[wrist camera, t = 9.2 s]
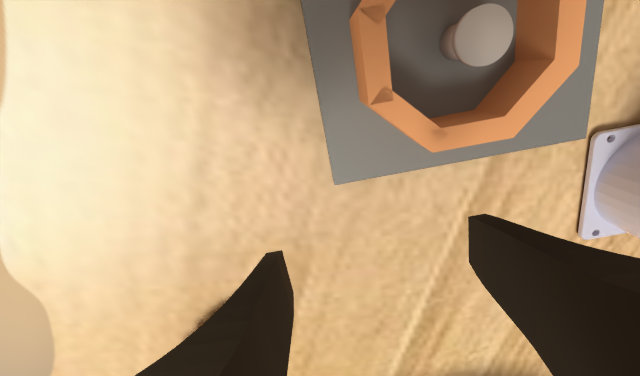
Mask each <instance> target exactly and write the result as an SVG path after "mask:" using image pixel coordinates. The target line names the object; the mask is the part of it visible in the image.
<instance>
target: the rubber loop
mask: <svg viewBox="0 0 640 376" xmlns="http://www.w3.org/2000/svg"><path fill="white" fill-rule="evenodd" d="M395 1H396V0H361V2H360V4H359V5H358V7H357V8H356V10H355V11H354V13H353V15H352V16H351V18H350V19H349V24H350V31H351V39H352V47H353V54H354V62H355V70H356V77H357V85H358V93H359V100H360V101H361V102H362V103H364V104H365V105H366V106H368V107H369V108H370V109H372V110H373V111H374V112H376V113H377V114H378V115H380V116H381V117H382V118H384V119H385V120H386V121H388V122H389V123H390V124H392V125H393V126H395V127H396V128H397V129H399V130H400V131H401V132H403V133H404V134H405V135H407V136H408V137H409V138H411V139H412V140H413V141H415V142H416V143H418V144H420V145H421V146H423V147H424V148H426V149H427V150H429V151H431V152H432V153H434V152H439V151H444V150H450V149H455V148H461V147H466V146H472V145H477V144H482V143H488V142H493V141H499V140H504V139H510V138H514V137H515V136H516V134H517V133H518V132H519V131H520V130H521V129H522V128H523V127H524V126H525V125H526V123H527V122H528V121H529V120H530V119H531V118H532V117H533V116H534V115H535V113H536V112H537V111H538V110H539V109H540V108H541V107H542V106H543V105H544V104H545V102H546V101H547V100H548V99H549V98H550V97H551V96H552V95H553V94H554V93H555V91H556V90H557V89H558V88H559V87H560V86H561V85H562V84H563V83H564V81H565V80H566V79H567V78H568V77H569V76H570V75H571V74H572V73H573V72H574V70H575V69H576V68H577V67H578V66H579V61H580V53H581V44H582V36H583V27H584V18H585V10H586V1H587V0H517V21H516V43H515V62H514V63H513V64H512V65H511V67H510V68H509V69H508V70H507V71H506V73H505V74H504V75H503V76H502V77H501V79H500V80H499V81H498V82H497V83H496V85H495V86H494V87H493V88H492V89H491V91H490V92H489V93H488V94H487V95H486V96H485V98H484V99H483V100H482V101H481V102H480V104H479V105H478V106H477V107H476V108H475V110H471V111H465V112H460V113H455V114H449V115H444V116H439V117H433V118H427V117H426V116H424V115H423V114H422V113H421V112H419V111H418V110H417V109H415V108H414V107H413V106H412V105H410V104H409V103H408V102H406V101H405V100H404V99H403V98H401V97H400V96H399V95H397V94H396V93H395V92H393V91H392V83H391V72H390V61H389V50H388V39H387V29H386V18H385V16H386V14H387V13H388V11H389V10H390V8H391V7H392V5H393V4H394V2H395Z"/></svg>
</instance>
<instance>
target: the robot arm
mask: <svg viewBox="0 0 640 376" xmlns="http://www.w3.org/2000/svg"><path fill="white" fill-rule="evenodd" d="M609 136H610V137H609ZM608 137H609V139H608V140H607V138H608ZM468 222H469V263H470V265H471V266H472V268H473V270H474V271H475V273H476V275H477V276H478V278H479V279H480V281H481V283H482V284H483V285H484V287H485V288H486V289H487V290H488V292H489V293H490V294H491V295H492V297H493V298H494V299H495V300H496V302H497V303H498V304H499V305H500V306H501V308H502V309H503V310H504V311H505V312H506V314H507V315H508V316H509V317H510V318H511V320H512V321H513V322H514V323H515V324H516V326H517V327H518V328H519V329H520V330H521V332H522V333H523V334H524V335H525V337H526V338H527V339H528V340H529V342H530V343H531V344H532V346H533V347H534V348H535V350H536V351H537V353H538V354H539V356H540V357H541V359H542V360H543V362H544V363H545V365H546V366H547V367H548V369H549V370H550V372H551V373H552V375H553V376H640V258H636V257H631V256H626V255H621V254H617V253H613V252H609V251H604V250H600V249H596V248H592V247H588V246H584V245H581V244H577V243H574V242H571V241H567V240H564V239H560V238H557V237H554V236H551V235H548V234H545V233H542V232H539V231H536V230H533V229H530V228H527V227H524V226H521V225H518V224H516V223H513V222H510V221H507V220H504V219H501V218H498V217H495V216H491V215H487V214H481V215H476V216H470V217H468ZM593 231H594V232H593ZM623 233H629V234H631V235H633V236H635V237H637V238H639V239H640V124H637V125H632V126H627V127H621V128H616V129H611V130H605V131H600V132H597V133H595V134H594V135H593V136H592V138H591V142H590V149H589V156H588V163H587V171H586V178H585V185H584V193H583V200H582V207H581V214H580V222H579V229H578V236H579V237H581V238H582V239H584V240H589V239H594V238H600V237H606V236H611V235H617V234H623ZM293 318H294V297H293V289H292V286H291V282H290V278H289V275H288V271H287V267H286V264H285V260H284V256H283V252H282V250H281V251H276V252H270V253H266V254H265V256H264V257H263V258H262V259H261V261H260V262H259V263H258V265H257V266H256V267H255V268H254V270H253V271H252V272H251V274H250V275H249V276H248V277H247V279H246V280H245V281H244V282H243V283H242V285H241V286H240V287H239V288H238V289H237V290H236V291H235V293H234V294H233V295H232V296H231V297H230V298H229V299H228V300H227V302H226V303H225V304H224V305H223V306H222V307H221V308H220V309H219V310H218V311H217V312H216V313H215V314H214V315H213V316H212V317H211V318H210V319H208V320H207V321H206V322H205V323H204V324H203V325H202V326H201V327H200V328H199V329H197V330H196V331H195V332H194V333H192V334H191V335H190V336H189V337H188V338H186V339H185V340H184V341H183V342H181V343H180V344H179V345H178V346H176V347H175V348H174V349H173V350H171V351H170V352H168V353H167V354H166V355H164V356H163V357H162V358H160V359H159V360H157V361H156V362H154V363H153V364H152V365H150V366H149V367H147V368H146V369H144V370H143V371H141V372H140V373H138V374H137V375H135V376H287V369H288V361H289V353H290V344H291V336H292V327H293Z"/></svg>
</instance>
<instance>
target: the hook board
mask: <svg viewBox="0 0 640 376" xmlns="http://www.w3.org/2000/svg"><path fill="white" fill-rule="evenodd" d="M360 2H361V0H301V5H302V10H303V16H304V21H305V27H306V32H307V38H308V43H309V49H310V54H311V60H312V65H313V71H314V76H315V82H316V87H317V92H318V98H319V103H320V109H321V114H322V120H323V125H324V131H325V136H326V142H327V147H328V153H329V158H330V164H331V169H332V175H333V180H334V185H339V184H344V183H349V182H355V181H360V180H365V179H371V178H376V177H381V176H387V175H392V174H398V173H403V172H408V171H414V170H419V169H424V168H430V167H435V166H440V165H446V164H451V163H456V162H462V161H467V160H472V159H478V158H483V157H488V156H494V155H499V154H505V153H510V152H515V151H521V150H526V149H531V148H537V147H542V146H547V145H553V144H558V143H563V142H569V141H574V140H579V139H585V138H586V134H587V126H588V119H589V111H590V104H591V96H592V88H593V81H594V73H595V65H596V58H597V50H598V43H599V35H600V27H601V20H602V12H603V4H604V0H587V1H586V10H585V18H584V27H583V36H582V44H581V53H580V61H579V66H578V67H577V68H576V69H575V70H574V72H573V73H572V74H571V75H570V76H569V77H568V78H567V79H566V80H565V81H564V83H563V84H562V85H561V86H560V87H559V88H558V89H557V90H556V91H555V93H554V94H553V95H552V96H551V97H550V98H549V99H548V100H547V101H546V102H545V104H544V105H543V106H542V107H541V108H540V109H539V110H538V111H537V112H536V113H535V115H534V116H533V117H532V118H531V119H530V120H529V121H528V122H527V123H526V125H525V126H524V127H523V128H522V129H521V130H520V131H519V132H518V133H517V134H516V136H515V137H514V138H510V139H504V140H499V141H493V142H488V143H482V144H477V145H472V146H466V147H461V148H455V149H450V150H444V151H439V152H434V153H432V152H431V151H429V150H427V149H426V148H424V147H423V146H421V145H420V144H418V143H416V142H415V141H413V140H412V139H411V138H409V137H408V136H407V135H405V134H404V133H403V132H401V131H400V130H399V129H397V128H396V127H395V126H393V125H392V124H390V123H389V122H388V121H386V120H385V119H384V118H382V117H381V116H380V115H378V114H377V113H376V112H374V111H373V110H372V109H370V108H369V107H368V106H366V105H365V104H364V103H362V102H361V101H360V100H359V93H358V85H357V77H356V70H355V62H354V54H353V47H352V39H351V31H350V24H349V19H350V18H351V16H352V15H353V13H354V11H355V10H356V8H357V7H358V5H359V4H360ZM385 18H386V29H387V39H388V50H389V61H390V72H391V83H392V91H393V92H395V93H396V94H397V95H399V96H400V97H401V98H403V99H404V100H405V101H406V102H408V103H409V104H410V105H412V106H413V107H414V108H415V109H417V110H418V111H419V112H421V113H422V114H423V115H424V116H426V117H427V118H433V117H439V116H444V115H449V114H455V113H460V112H465V111H471V110H475V108H476V107H477V106H478V105H479V104H480V102H481V101H482V100H483V99H484V98H485V96H486V95H487V94H488V93H489V92H490V91H491V89H492V88H493V87H494V86H495V85H496V83H497V82H498V81H499V80H500V79H501V77H502V76H503V75H504V74H505V73H506V71H507V70H508V69H509V68H510V67H511V65H512V64H513V63H514V62H515V43H516V21H517V0H396V1H395V2H394V4H393V5H392V7H391V8H390V10H389V11H388V13H387V14H386V16H385Z"/></svg>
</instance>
